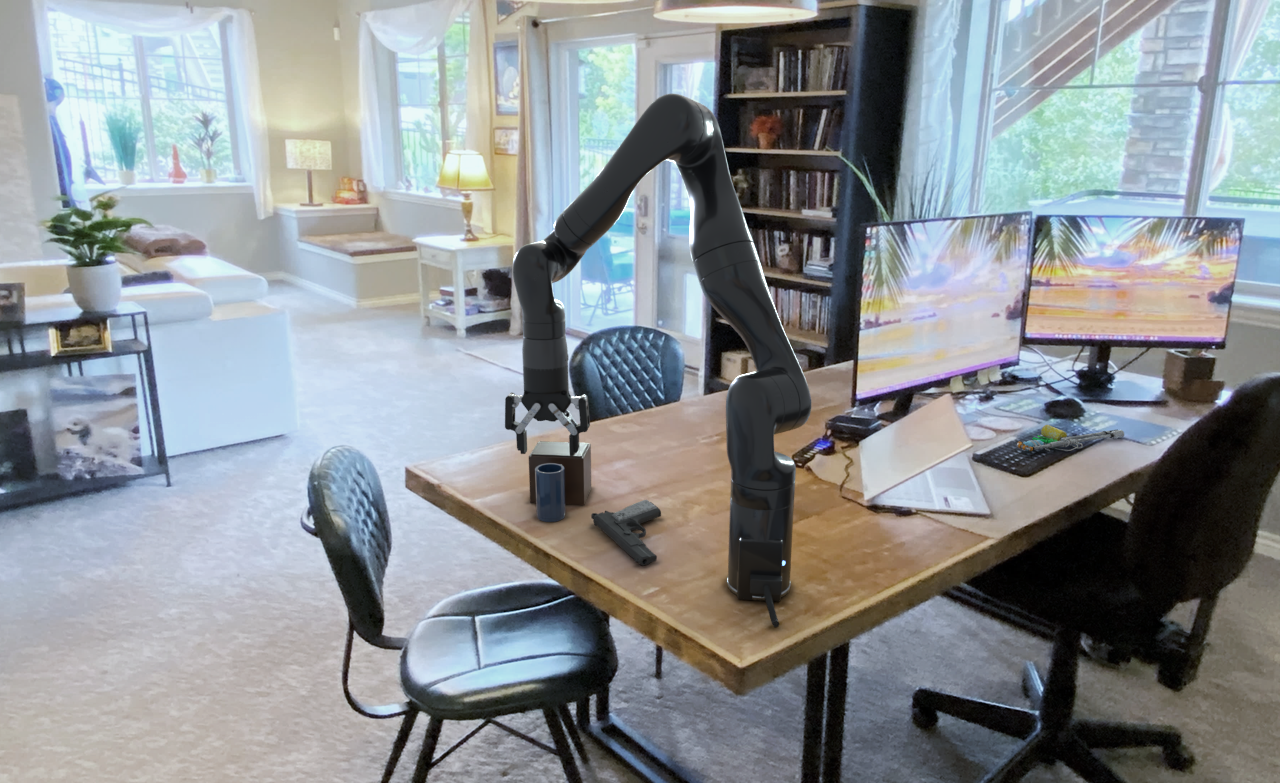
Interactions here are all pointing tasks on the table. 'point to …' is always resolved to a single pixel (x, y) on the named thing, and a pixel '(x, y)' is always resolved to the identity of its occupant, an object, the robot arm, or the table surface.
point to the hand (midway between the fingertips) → (548, 453)
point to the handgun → (629, 528)
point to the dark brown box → (574, 469)
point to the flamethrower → (1064, 439)
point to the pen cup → (550, 492)
